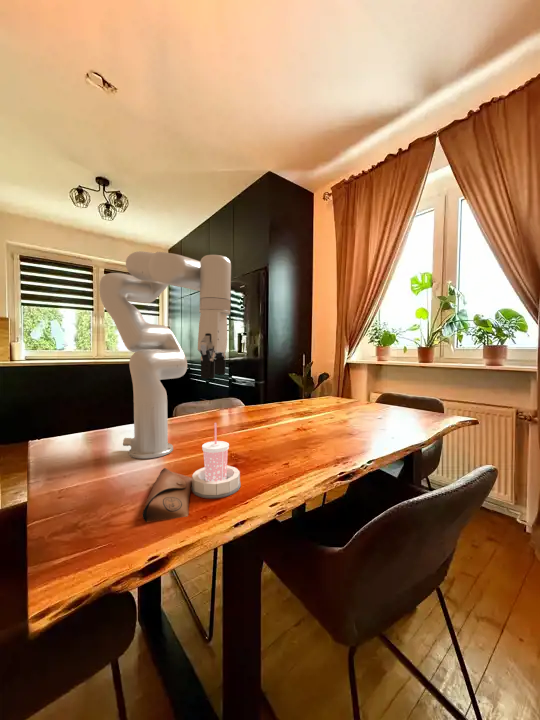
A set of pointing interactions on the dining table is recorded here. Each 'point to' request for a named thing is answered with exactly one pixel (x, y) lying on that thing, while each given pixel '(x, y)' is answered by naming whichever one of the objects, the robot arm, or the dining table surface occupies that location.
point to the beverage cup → (215, 459)
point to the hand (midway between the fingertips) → (213, 376)
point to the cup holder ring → (216, 484)
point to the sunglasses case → (168, 497)
